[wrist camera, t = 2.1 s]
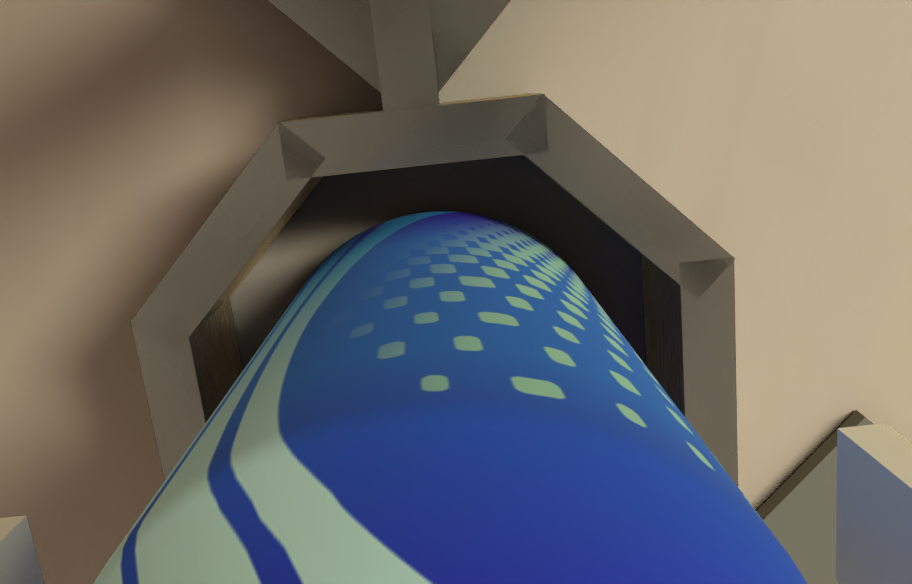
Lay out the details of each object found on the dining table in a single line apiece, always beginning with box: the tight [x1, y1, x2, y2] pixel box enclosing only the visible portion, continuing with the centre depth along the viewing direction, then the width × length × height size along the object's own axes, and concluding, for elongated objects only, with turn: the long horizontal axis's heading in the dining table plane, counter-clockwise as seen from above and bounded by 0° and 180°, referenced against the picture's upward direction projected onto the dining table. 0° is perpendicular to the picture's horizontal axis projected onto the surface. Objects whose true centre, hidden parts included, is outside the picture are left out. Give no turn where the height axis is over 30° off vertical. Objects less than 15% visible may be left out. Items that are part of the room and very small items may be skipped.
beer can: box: [93, 211, 807, 584], centre depth 14 cm, size 8×8×16 cm
